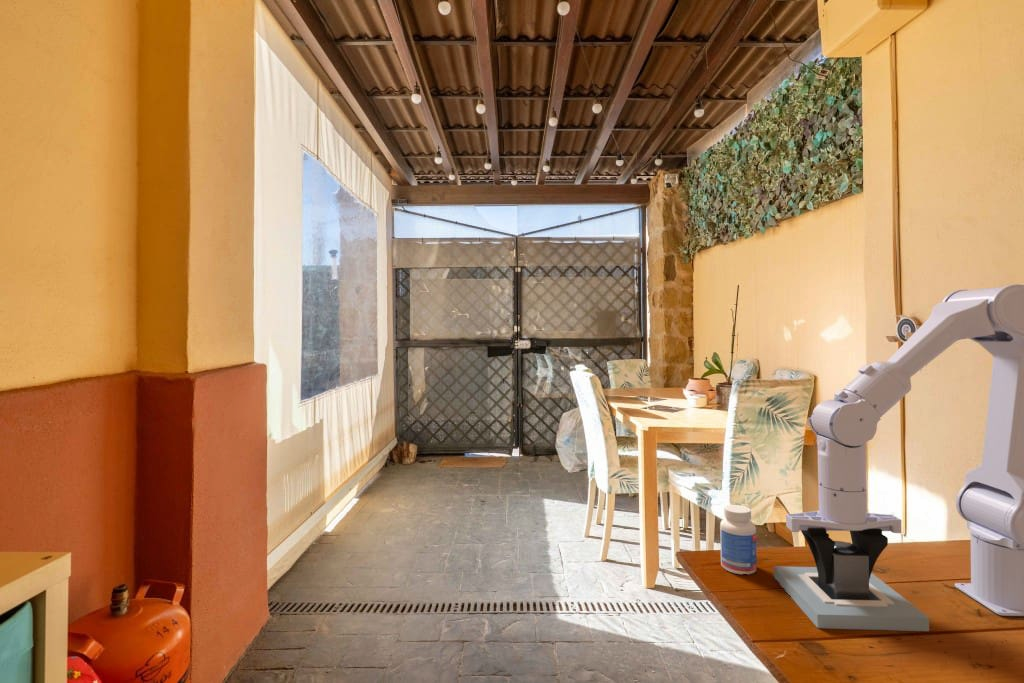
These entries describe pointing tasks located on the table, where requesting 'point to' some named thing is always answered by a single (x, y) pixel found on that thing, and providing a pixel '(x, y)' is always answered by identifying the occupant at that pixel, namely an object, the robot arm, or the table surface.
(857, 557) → the lens block
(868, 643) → the table surface
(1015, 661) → the table surface
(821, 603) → the mount plate
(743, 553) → the pill bottle
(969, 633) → the table surface
